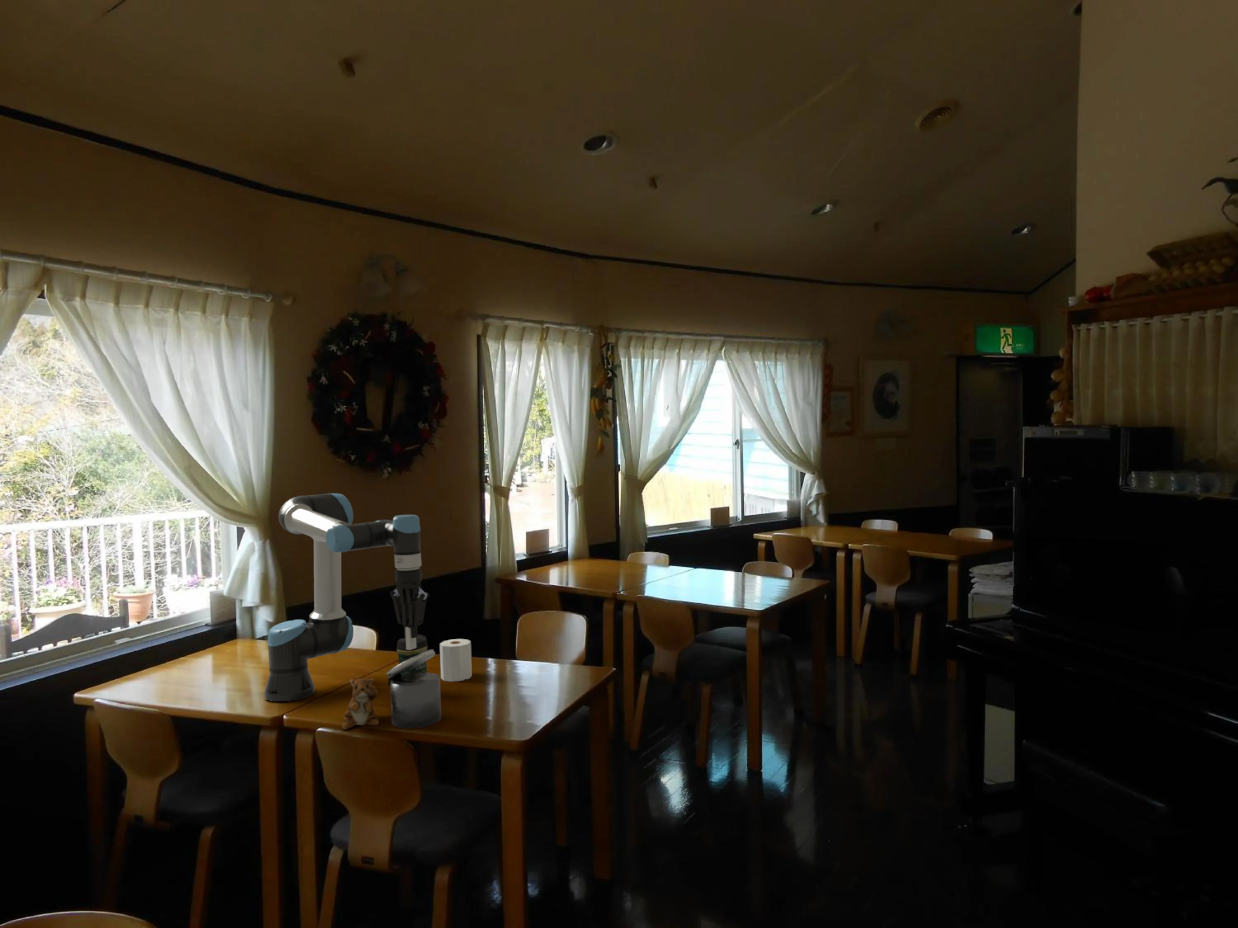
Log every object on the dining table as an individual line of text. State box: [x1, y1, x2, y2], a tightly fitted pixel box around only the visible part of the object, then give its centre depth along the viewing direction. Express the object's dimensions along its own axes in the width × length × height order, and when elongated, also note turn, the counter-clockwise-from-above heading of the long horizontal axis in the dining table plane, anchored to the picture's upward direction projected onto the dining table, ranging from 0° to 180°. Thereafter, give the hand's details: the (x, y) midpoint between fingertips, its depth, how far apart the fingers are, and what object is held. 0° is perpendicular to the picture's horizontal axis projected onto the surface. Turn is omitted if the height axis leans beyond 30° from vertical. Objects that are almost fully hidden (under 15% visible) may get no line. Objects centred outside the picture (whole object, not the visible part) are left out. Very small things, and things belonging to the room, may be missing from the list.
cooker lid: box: [386, 649, 436, 679], centre depth 238 cm, size 15×15×1 cm
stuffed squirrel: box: [341, 677, 380, 731], centre depth 238 cm, size 10×14×13 cm
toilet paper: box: [439, 638, 473, 683], centre depth 279 cm, size 10×10×12 cm
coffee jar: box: [396, 634, 428, 675], centre depth 263 cm, size 10×8×19 cm
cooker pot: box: [387, 672, 442, 730], centre depth 238 cm, size 15×14×12 cm
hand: (411, 648), depth 237 cm, fingers closed
